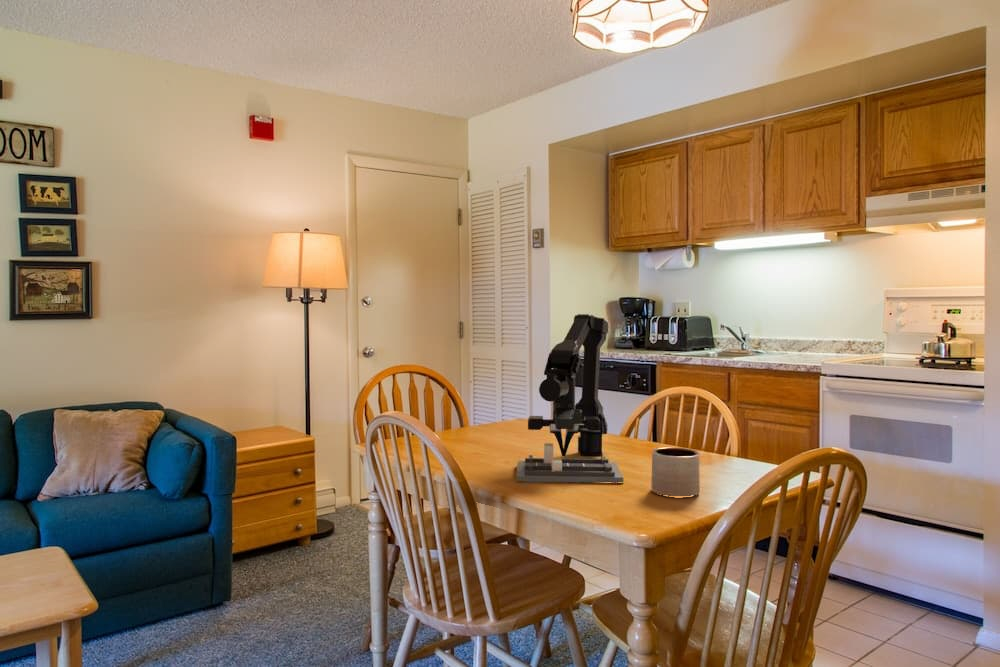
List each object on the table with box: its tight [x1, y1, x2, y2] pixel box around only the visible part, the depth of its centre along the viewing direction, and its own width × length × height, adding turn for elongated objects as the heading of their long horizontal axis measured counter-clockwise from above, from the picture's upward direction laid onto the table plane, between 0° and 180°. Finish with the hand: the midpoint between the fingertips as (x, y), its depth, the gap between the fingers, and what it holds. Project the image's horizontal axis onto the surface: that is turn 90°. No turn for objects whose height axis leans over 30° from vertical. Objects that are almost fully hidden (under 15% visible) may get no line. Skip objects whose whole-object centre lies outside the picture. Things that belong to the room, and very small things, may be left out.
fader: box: [543, 442, 554, 463], centre depth 178 cm, size 2×4×5 cm, turn 177°
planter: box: [650, 446, 701, 496], centre depth 157 cm, size 11×11×10 cm
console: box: [516, 454, 624, 484], centre depth 174 cm, size 26×16×4 cm, turn 87°
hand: (563, 455), depth 178 cm, fingers closed
